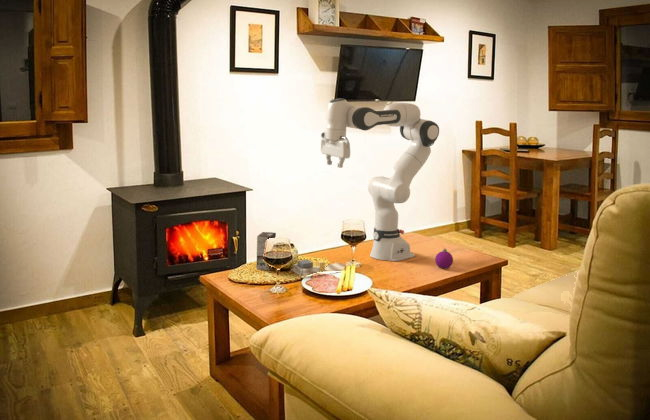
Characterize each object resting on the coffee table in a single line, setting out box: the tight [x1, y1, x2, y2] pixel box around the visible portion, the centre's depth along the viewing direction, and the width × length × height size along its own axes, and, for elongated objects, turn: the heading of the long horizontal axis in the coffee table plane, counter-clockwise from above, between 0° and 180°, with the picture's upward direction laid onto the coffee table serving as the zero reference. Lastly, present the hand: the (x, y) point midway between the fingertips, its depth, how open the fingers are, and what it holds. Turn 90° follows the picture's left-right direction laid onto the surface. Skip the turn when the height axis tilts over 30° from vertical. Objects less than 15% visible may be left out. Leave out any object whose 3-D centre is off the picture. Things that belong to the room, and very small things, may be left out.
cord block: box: [296, 259, 326, 271], centre depth 267 cm, size 12×5×5 cm, turn 120°
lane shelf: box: [289, 262, 346, 279], centre depth 270 cm, size 26×13×4 cm, turn 120°
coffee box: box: [256, 231, 277, 271], centre depth 271 cm, size 9×6×16 cm
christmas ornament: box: [434, 247, 454, 269], centre depth 283 cm, size 8×8×10 cm
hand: (334, 166), depth 273 cm, fingers open, 8 cm apart
